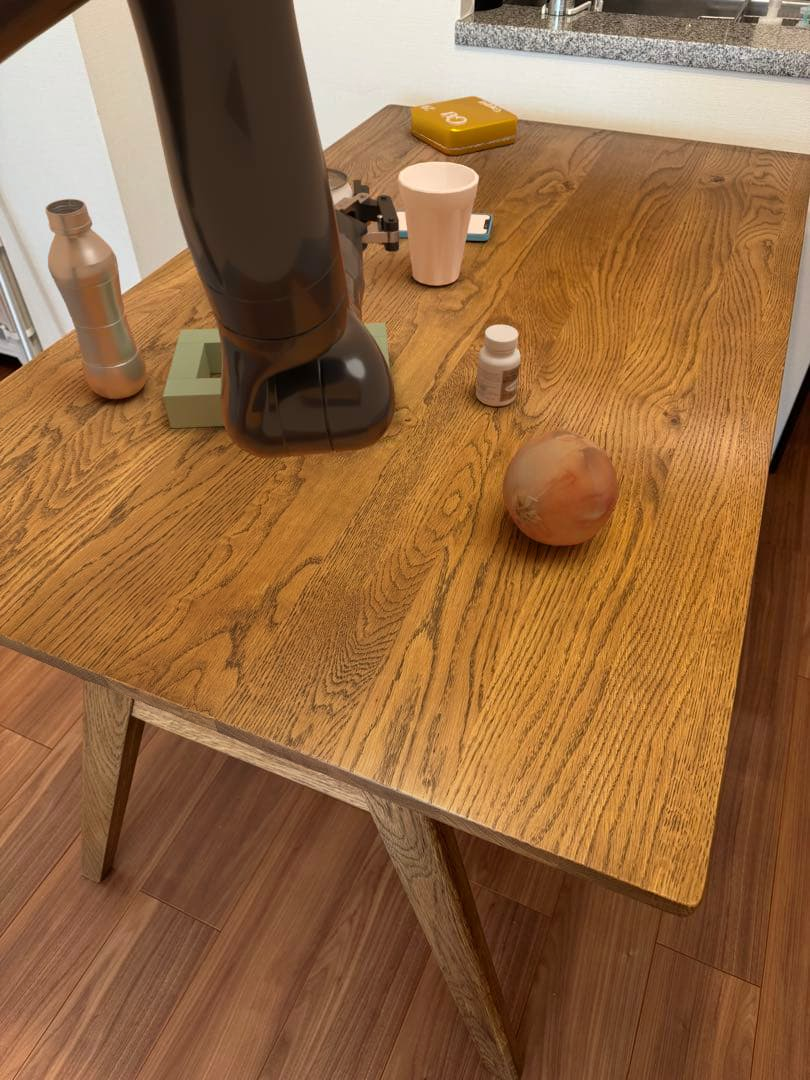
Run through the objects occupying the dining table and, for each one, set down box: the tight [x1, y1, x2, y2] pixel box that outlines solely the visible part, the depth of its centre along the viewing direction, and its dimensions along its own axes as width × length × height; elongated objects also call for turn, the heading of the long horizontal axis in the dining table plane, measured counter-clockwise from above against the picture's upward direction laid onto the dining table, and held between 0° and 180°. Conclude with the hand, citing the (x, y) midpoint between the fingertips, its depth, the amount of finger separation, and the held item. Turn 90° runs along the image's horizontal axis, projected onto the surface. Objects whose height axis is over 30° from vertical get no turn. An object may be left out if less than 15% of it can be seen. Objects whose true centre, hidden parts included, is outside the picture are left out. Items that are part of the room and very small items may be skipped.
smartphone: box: [395, 209, 494, 242], centre depth 115 cm, size 8×1×15 cm
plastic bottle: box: [44, 198, 148, 400], centre depth 79 cm, size 6×7×20 cm
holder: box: [162, 322, 391, 429], centre depth 85 cm, size 13×23×4 cm, turn 94°
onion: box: [502, 428, 619, 547], centre depth 67 cm, size 10×10×10 cm
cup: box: [397, 161, 480, 286], centre depth 100 cm, size 10×10×13 cm
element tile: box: [410, 95, 519, 157], centre depth 141 cm, size 15×15×5 cm
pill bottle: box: [475, 323, 522, 407], centre depth 82 cm, size 4×4×8 cm
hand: (318, 191), depth 71 cm, fingers closed on can, 6 cm apart
